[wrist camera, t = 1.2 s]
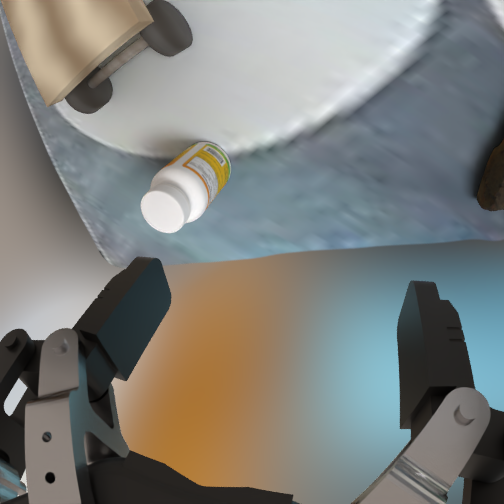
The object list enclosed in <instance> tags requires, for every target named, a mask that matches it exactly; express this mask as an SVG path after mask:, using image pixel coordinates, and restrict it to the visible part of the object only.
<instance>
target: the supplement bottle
mask: <svg viewBox="0 0 504 504" xmlns="http://www.w3.org/2000/svg"><path fill="white" fill-rule="evenodd" d="M230 174H231V164H230V160H229V158H228V156H227V155H226V153H225V152H224V151H223V150H222V149H221V148H220V147H219V146H217V145H215V144H213V143H209V142H198V143H195V144H193V145H191V146H190V147H189V148H187V149H186V150H185V151H183V152H182V153H181V154H180V155H178V156H177V157H176V158H175V159H173V160H172V161H171V162H170V163H168V164H167V165H166V166H165V167H163V168H162V169H161V170H160V171H159V172H158V173H157V174H156V175H155V176H154V178H153V180H152V182H151V187H150V190H149V191H148V192H147V193H146V194H145V195H144V196H143V198H142V201H141V211H142V214H143V216H144V218H145V219H146V221H147V222H148V223H149V224H150V225H151V226H152V227H153V228H155V229H156V230H158V231H161V232H164V233H173V232H176V231H178V230H179V229H180V228H181V227H182V226H183V225H184V224H185V223H189V222H192V221H194V220H196V219H198V218H199V217H200V216H201V215H202V214H203V213H204V211H205V210H206V209H207V207H208V206H209V205H210V203H211V202H212V201H213V199H214V198H215V197H216V195H217V194H218V193H219V192H220V190H221V189H222V188H223V187H224V185H225V184H226V182H227V181H228V179H229V177H230Z"/></svg>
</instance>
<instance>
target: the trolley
mask: <svg viewBox="0 0 504 504" xmlns="http://www.w3.org/2000/svg"><path fill="white" fill-rule="evenodd" d="M1 2H2V5H3V8H4V11H5V13H6V16H7V19H8V21H9V24H10V26H11V29H12V31H13V34H14V36H15V39H16V41H17V43H18V46H19V48H20V51H21V53H22V55H23V57H24V60H25V62H26V64H27V66H28V68H29V71H30V73H31V75H32V77H33V79H34V81H35V83H36V85H37V87H38V90H39V92H40V94H41V96H42V98H43V100H44V102H45V104H46V105H47V107H49V106H51V105H53V104H55V103H58V102H60V101H62V100H63V99H64V98H65V99H66V101H67V102H68V104H69V105H70V106H71V107H72V108H74V109H75V110H77V111H79V112H81V113H85V114H91V113H94V112H96V111H98V110H99V109H100V108H101V107H103V106H104V105H105V104H106V103H108V102H109V100H110V99H111V96H112V85H111V82H110V79H109V76H110V75H111V74H112V73H114V72H115V71H116V70H117V69H119V68H120V67H121V66H122V65H124V64H125V63H126V62H128V61H129V60H130V59H131V58H133V57H134V56H135V55H137V54H138V53H139V52H141V51H142V50H144V49H145V48H146V47H148V46H150V47H151V48H153V49H154V50H155V51H156V52H158V53H160V54H162V55H164V56H168V57H172V56H174V55H176V54H178V53H179V52H181V51H183V50H184V49H186V48H188V47H189V46H190V45H191V44H192V40H193V38H192V32H191V29H190V27H189V25H188V23H187V21H186V20H185V18H184V17H183V15H182V14H181V13H180V12H179V11H178V10H177V9H176V8H175V7H174V6H173V5H172V4H170V3H168V2H167V1H164V0H153V1H152V2H151V3H149V4H148V5H146V6H145V4H144V2H143V0H1ZM138 32H140V34H141V37H140V38H139V39H137V40H136V41H135V42H133V43H132V44H131V45H130V46H128V47H127V48H126V49H124V50H123V51H122V52H121V53H119V54H118V55H117V56H116V57H115V58H113V59H112V60H111V61H110V62H109V63H107V64H106V65H105V66H104V67H103V68H102V69H101V68H99V67H98V65H99V64H100V63H102V62H103V61H104V60H105V59H106V58H107V57H108V56H110V55H111V54H112V53H113V52H114V51H116V50H117V49H118V48H119V47H121V46H122V45H123V44H124V43H125V42H127V41H128V40H129V39H131V38H132V37H133V36H134V35H136V34H137V33H138Z"/></svg>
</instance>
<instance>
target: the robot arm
mask: <svg viewBox="0 0 504 504" xmlns="http://www.w3.org/2000/svg"><path fill="white" fill-rule="evenodd" d="M170 304H171V292H170V288H169V286H168V282H167V279H166V276H165V273H164V270H163V266H162V263H161V261H160V260H159V259H158V258H150V257H136V258H135V259H134V260H133V261H132V262H131V264H130V265H129V266H128V267H127V268H126V269H124V270H123V271H121V272H120V273H119V274H117V275H116V276H115V277H113V278H112V279H111V281H110V282H109V283H108V284H107V285H106V286H105V288H104V290H102V291H101V293H100V294H99V295H98V298H96V299H95V300H94V301H93V303H92V304H91V305H90V306H89V308H88V309H87V310H86V311H85V313H84V314H83V315H82V316H81V318H80V319H79V320H78V322H77V323H76V324H75V326H74V327H73V328H72V329H69V328H64V329H59V330H57V331H55V332H53V333H52V334H50V335H49V336H48V338H47V339H46V340H31V338H30V337H29V335H28V334H27V332H26V331H24V330H23V329H15V330H12V331H11V332H9V333H8V334H6V336H4V338H3V339H2V340H1V342H0V504H299V503H297V502H294V501H292V499H293V495H291V494H284V493H278V492H272V491H266V490H260V489H255V488H250V487H206V486H201V485H198V484H196V483H194V482H193V481H191V480H189V479H188V478H186V477H185V476H183V475H181V474H180V473H178V472H177V471H175V470H173V469H172V468H170V467H169V466H167V465H166V464H164V463H161V462H159V461H156V460H153V459H150V458H148V457H145V456H143V455H140V454H138V453H135V452H133V451H130V450H129V448H128V445H127V444H126V442H125V440H124V439H123V436H122V434H121V430H120V425H119V420H118V414H117V408H116V402H115V395H114V389H113V386H112V384H111V382H112V380H113V378H114V377H115V378H118V379H121V380H124V381H127V380H128V378H129V376H130V374H131V373H132V371H133V369H134V367H135V366H136V364H137V362H138V360H139V359H140V357H141V355H142V353H143V352H144V350H145V348H146V347H147V345H148V343H149V341H150V340H151V338H152V336H153V334H154V333H155V331H156V330H157V328H158V326H159V325H160V323H161V321H162V319H163V318H164V316H165V315H166V313H167V311H168V309H169V307H170ZM464 340H465V338H464V334H463V330H462V326H461V322H460V318H459V315H458V312H457V311H456V310H455V308H454V307H453V306H452V305H451V303H450V302H449V300H440V298H439V294H438V290H437V287H436V284H435V283H434V282H426V281H410V283H409V286H408V289H407V292H406V296H405V299H404V303H403V306H402V309H401V312H400V316H399V319H398V326H397V342H398V356H399V357H398V358H399V379H400V429H411V440H410V441H409V442H408V444H407V445H406V446H405V447H404V448H403V450H402V451H401V452H400V453H399V454H398V455H397V457H396V458H395V459H394V460H393V461H392V462H391V463H390V465H389V466H388V467H387V468H386V469H385V470H384V471H383V472H382V473H381V475H380V476H379V477H378V478H377V479H376V480H375V481H374V482H373V483H372V484H371V485H370V486H369V487H368V488H367V489H366V490H365V491H364V492H363V493H362V494H361V495H360V496H359V497H357V498H356V499H355V500H354V501H353V502H352V503H351V504H446V502H447V499H448V497H447V492H448V490H449V488H450V487H451V486H452V484H453V482H454V481H455V480H456V478H457V477H458V476H459V477H463V478H464V489H463V500H462V504H504V412H502V411H498V410H495V409H492V408H491V407H489V404H488V402H487V400H486V398H485V397H484V396H483V395H482V394H481V393H480V392H479V391H477V390H476V389H475V386H474V381H473V375H472V370H471V365H470V360H469V355H468V351H467V346H466V342H464ZM18 378H20V380H21V381H22V382H23V383H24V384H25V385H26V386H27V387H28V388H27V390H26V391H25V393H24V395H23V397H22V398H21V400H20V402H19V403H18V405H17V407H16V409H15V410H14V412H13V414H12V415H11V416H8V415H7V414H6V413H5V411H4V402H5V400H6V398H7V396H8V394H9V393H10V391H11V389H12V388H13V386H14V384H15V383H16V381H17V380H18ZM25 469H26V477H27V488H28V493H26V486H25V484H24V483H23V482H21V481H20V480H21V478H22V475H23V473H24V471H25ZM17 495H19V496H18V497H17Z"/></svg>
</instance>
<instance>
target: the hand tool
mask: <svg viewBox="0 0 504 504" xmlns="http://www.w3.org/2000/svg"><path fill="white" fill-rule="evenodd" d="M477 201H478V203H479V205H480V206H481V207H482V208H483V209H485V210H486V209H487V210H489V211H497V210H502V209H503V210H504V139H503V141H502V143H501V144H500V145H499V146H498V147H495V148H494V150H493V152H492V154H491V156H490V158H489V160H488V163H487V166H486V168H485V171H484V174H483V177H482V180H481V184H480V187H479V191H478V194H477Z"/></svg>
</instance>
